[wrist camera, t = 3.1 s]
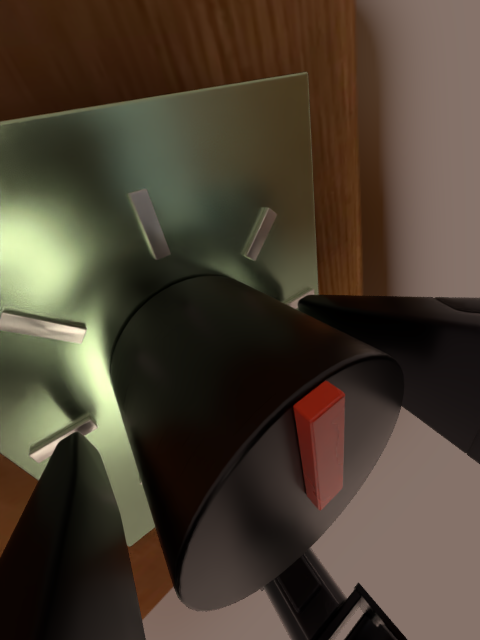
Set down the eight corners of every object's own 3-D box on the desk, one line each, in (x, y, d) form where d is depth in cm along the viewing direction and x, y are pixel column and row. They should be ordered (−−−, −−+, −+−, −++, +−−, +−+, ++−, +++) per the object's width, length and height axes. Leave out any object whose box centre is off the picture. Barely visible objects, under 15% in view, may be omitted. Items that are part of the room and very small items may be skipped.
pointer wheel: (276, 371, 10) (402, 472, 6) (157, 454, 8) (238, 657, 5) (253, 246, 7) (450, 303, 4) (65, 331, 6) (94, 599, 2)
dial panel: (283, 362, 15) (326, 394, 13) (114, 478, 12) (130, 552, 9) (240, 101, 9) (314, 67, 6) (-186, 184, 5) (-405, 180, 3)
